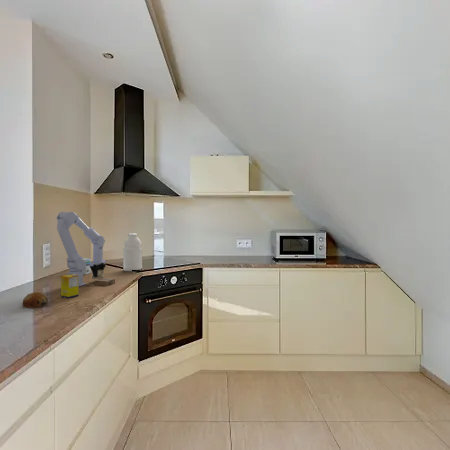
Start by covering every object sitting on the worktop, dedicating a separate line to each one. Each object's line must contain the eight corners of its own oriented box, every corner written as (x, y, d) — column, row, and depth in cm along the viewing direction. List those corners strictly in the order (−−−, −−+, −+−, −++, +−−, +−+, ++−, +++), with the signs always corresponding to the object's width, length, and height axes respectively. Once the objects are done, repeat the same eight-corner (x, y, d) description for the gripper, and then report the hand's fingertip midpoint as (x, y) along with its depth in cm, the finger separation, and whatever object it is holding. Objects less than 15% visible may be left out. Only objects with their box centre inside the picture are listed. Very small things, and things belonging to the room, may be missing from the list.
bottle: (125, 272, 240) (125, 234, 239) (121, 269, 252) (121, 233, 251) (144, 270, 246) (144, 233, 246) (139, 268, 259) (139, 233, 258)
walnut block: (107, 286, 193) (107, 281, 193) (95, 285, 194) (95, 280, 194) (114, 283, 200) (114, 278, 200) (103, 282, 202) (103, 278, 202)
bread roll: (44, 309, 155) (41, 293, 157) (52, 304, 149) (49, 287, 151) (21, 314, 148) (18, 297, 150) (29, 308, 142) (26, 290, 144)
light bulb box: (91, 273, 234) (91, 258, 234) (86, 274, 228) (86, 259, 227) (77, 272, 235) (77, 257, 235) (71, 274, 229) (71, 259, 228)
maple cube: (99, 279, 202) (99, 271, 202) (91, 278, 203) (92, 270, 203) (103, 277, 207) (103, 270, 207) (96, 277, 208) (96, 269, 208)
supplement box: (70, 294, 170) (71, 273, 170) (78, 296, 167) (78, 274, 167) (60, 297, 165) (60, 275, 165) (68, 298, 162) (68, 276, 162)
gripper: (96, 256, 197) (96, 278, 197) (110, 253, 211) (110, 274, 211) (86, 255, 198) (86, 277, 199) (100, 253, 212) (100, 273, 213)
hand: (97, 276), depth 205 cm, fingers closed on maple cube, 5 cm apart
